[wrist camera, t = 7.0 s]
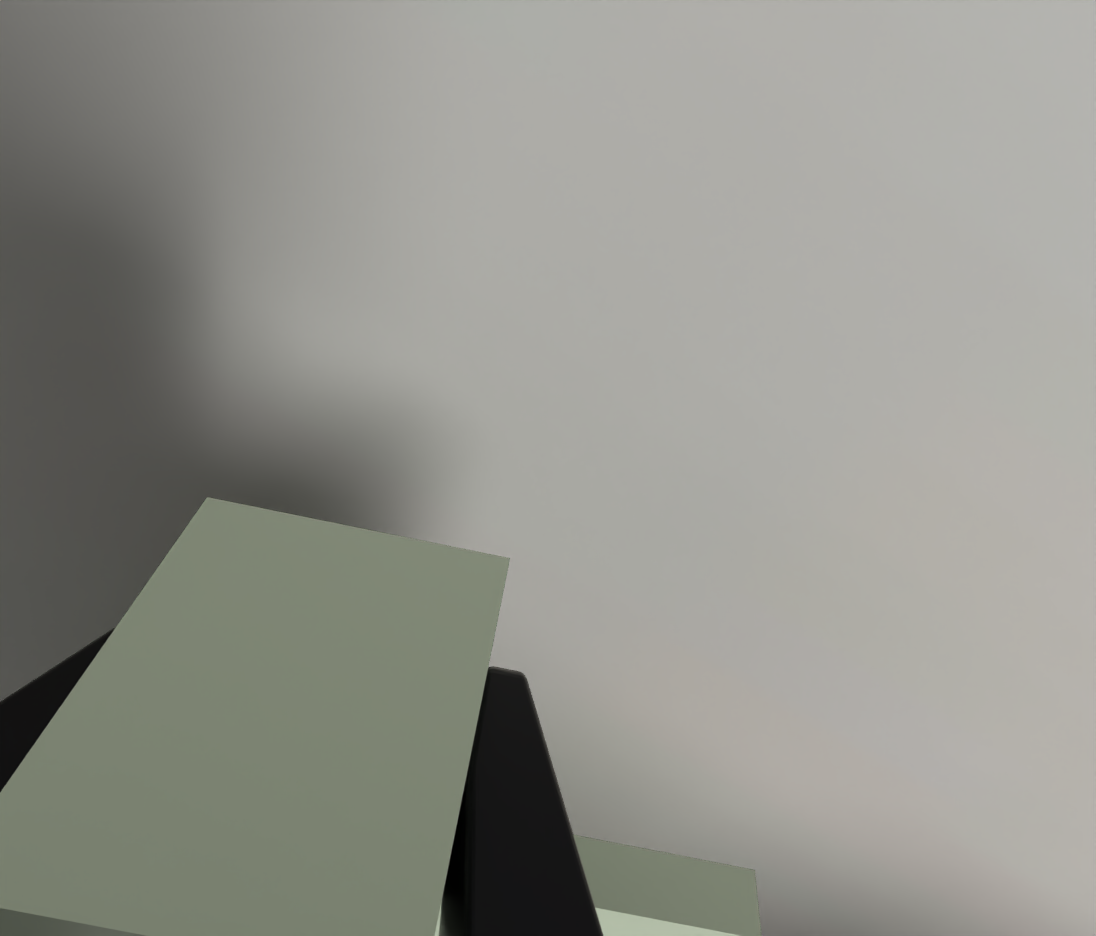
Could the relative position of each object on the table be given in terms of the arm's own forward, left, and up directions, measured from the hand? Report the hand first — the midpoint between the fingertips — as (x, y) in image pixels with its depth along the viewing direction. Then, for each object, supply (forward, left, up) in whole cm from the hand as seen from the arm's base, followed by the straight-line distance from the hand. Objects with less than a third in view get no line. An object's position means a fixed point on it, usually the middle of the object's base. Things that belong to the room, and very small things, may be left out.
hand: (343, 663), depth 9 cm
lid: (+5, +6, 0) cm, 8 cm away
